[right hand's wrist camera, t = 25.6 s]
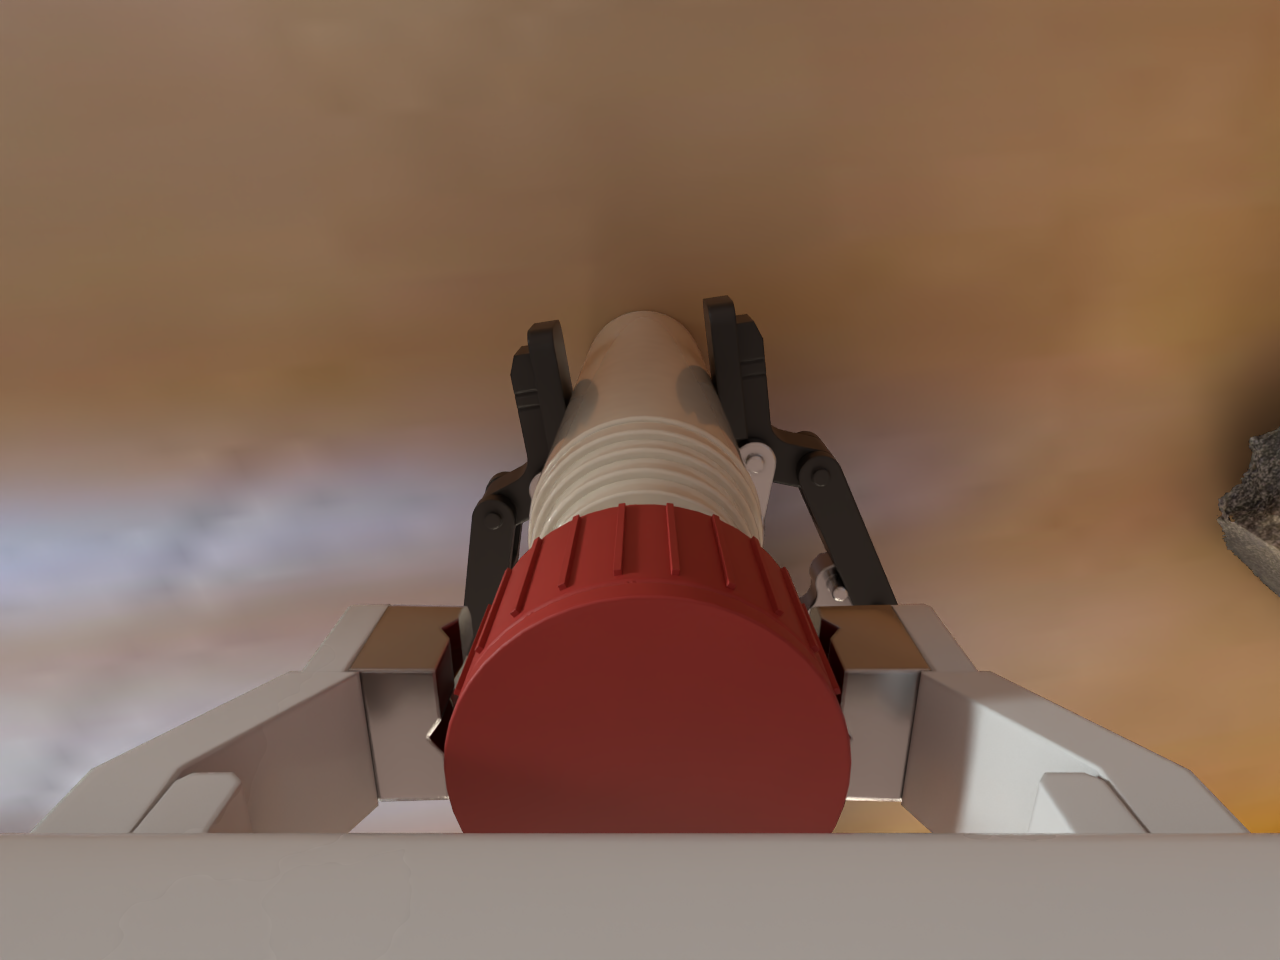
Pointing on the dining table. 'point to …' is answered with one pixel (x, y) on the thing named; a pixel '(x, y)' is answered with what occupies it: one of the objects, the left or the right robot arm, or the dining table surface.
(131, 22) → the dining table surface
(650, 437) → the bottle
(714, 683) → the cap
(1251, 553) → the rock
